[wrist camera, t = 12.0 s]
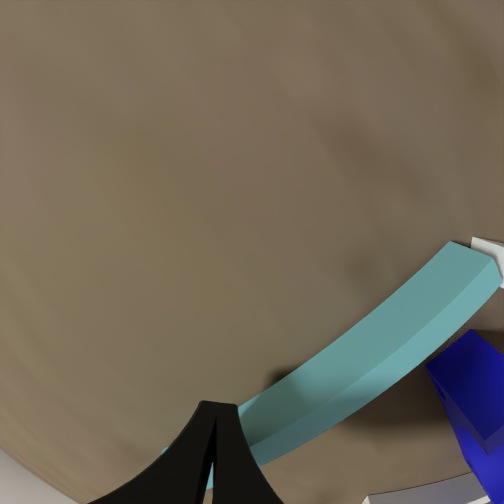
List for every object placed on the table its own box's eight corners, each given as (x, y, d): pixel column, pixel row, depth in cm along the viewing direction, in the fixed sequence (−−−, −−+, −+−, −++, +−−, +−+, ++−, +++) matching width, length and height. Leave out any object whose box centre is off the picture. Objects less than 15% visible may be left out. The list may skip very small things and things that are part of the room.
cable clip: (510, 420, 15) (549, 466, 9) (463, 458, 16) (496, 511, 10) (488, 309, 13) (564, 362, 7) (423, 364, 13) (484, 441, 8)
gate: (179, 461, 14) (169, 502, 11) (163, 449, 14) (150, 490, 11) (460, 261, 12) (502, 282, 9) (449, 240, 12) (493, 258, 9)
